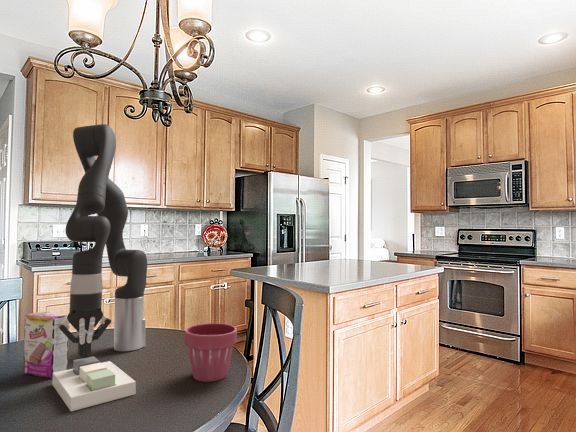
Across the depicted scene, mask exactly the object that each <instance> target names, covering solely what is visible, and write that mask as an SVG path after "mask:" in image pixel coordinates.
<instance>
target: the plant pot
mask: <svg viewBox="0 0 576 432" xmlns="http://www.w3.org/2000/svg"><path fill="white" fill-rule="evenodd" d="M237 335H238V330H237V327H236V326H234V325H233V324H229V323H223V322H222V323H221V322H219V323H218V322H216V323H215V322H212V323H211V322H210V323H200V324H193V325H191V326H190V325H189V326H188V327H186V328H185V330H184V338H183V339H184V341H183V342H184V345H185V346H186V347H187V351H188V356H189V361H190V366H191V371H192V377H193V378H194V380H196V381H199V382H205V383H206V382H216V381H219V380H223V379H224V378H226V377H227V375H228V370H229V367H230V361H231V357H232V352H233V347H234V345H235V344H236V343H237V340H238V338H237V337H238V336H237Z"/></svg>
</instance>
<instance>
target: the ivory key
mask: <svg viewBox="0 0 576 432" xmlns="http://www.w3.org/2000/svg"><path fill="white" fill-rule="evenodd" d="M102 363H103V362H99V363H96V364H91V365H86V366H81V367H80V374H79V378H80V380H81V381H82V382H83V383H86V380H87V374H88V373H93V372H97V371H102V370H106V369H107V367H106V366H105V365H103V364H102Z"/></svg>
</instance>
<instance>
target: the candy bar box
mask: <svg viewBox="0 0 576 432" xmlns="http://www.w3.org/2000/svg"><path fill="white" fill-rule="evenodd" d="M67 316H68V314H65V313H56V312H46V311H37V312H32V313H26V314H24V333H23V334H24V337H23V338H24V339H23V340H24V341H23V342H24V343H23V346H24V347H23V372H22V373H23V374H24V375H29V376H34V377H35V376H36V377H41V378H47V379H52V380H53V373H54V372H59V371H64V370H68V355H69V354H68V351H69V350H68V347H69V345H68V344H69V338H68V337H67V336H66V335H65V334H64V333H63V332H62V331H61V330H60V329H59V328H58V325H59V324H62V323H63V322H64V321H65V320H67Z"/></svg>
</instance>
